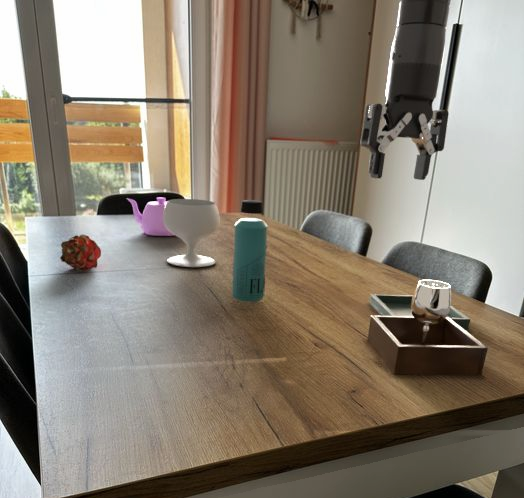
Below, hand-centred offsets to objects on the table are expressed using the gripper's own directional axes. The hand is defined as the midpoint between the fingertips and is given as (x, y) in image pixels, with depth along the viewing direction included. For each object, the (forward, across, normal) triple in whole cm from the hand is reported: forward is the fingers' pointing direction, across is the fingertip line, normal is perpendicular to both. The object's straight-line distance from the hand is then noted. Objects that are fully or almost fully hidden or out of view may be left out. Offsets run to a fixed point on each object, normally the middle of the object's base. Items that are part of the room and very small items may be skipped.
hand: (397, 178), depth 82 cm
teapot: (+26, -18, +94) cm, 99 cm away
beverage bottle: (+26, -17, +19) cm, 37 cm away
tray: (+26, +13, +5) cm, 29 cm away
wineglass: (+26, 0, -12) cm, 29 cm away
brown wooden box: (+26, 0, -12) cm, 29 cm away
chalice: (+26, -18, +54) cm, 63 cm away
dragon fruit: (+26, -45, +53) cm, 75 cm away
